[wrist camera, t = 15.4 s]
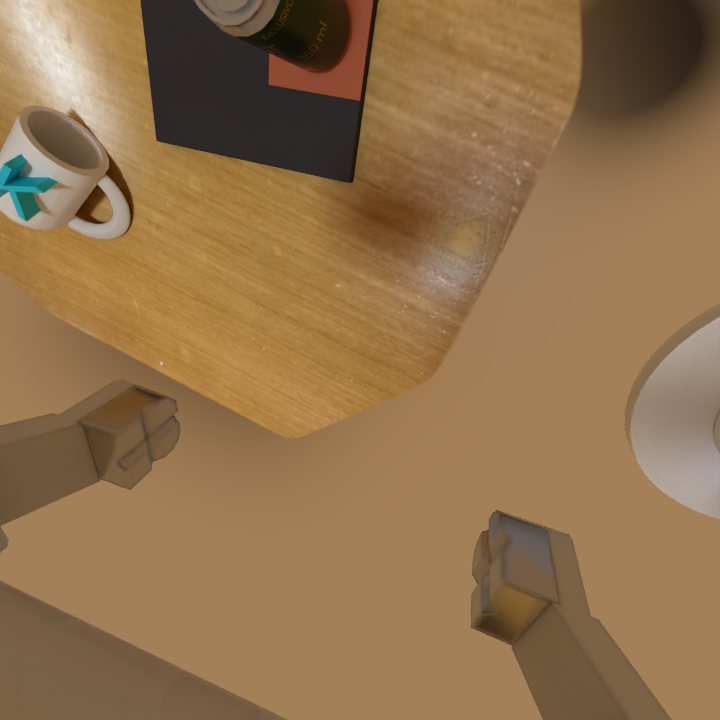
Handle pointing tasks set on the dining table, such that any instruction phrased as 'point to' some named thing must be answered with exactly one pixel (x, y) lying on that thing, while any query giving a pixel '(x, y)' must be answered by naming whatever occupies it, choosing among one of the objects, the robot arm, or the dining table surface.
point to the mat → (255, 92)
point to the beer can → (286, 28)
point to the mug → (56, 175)
